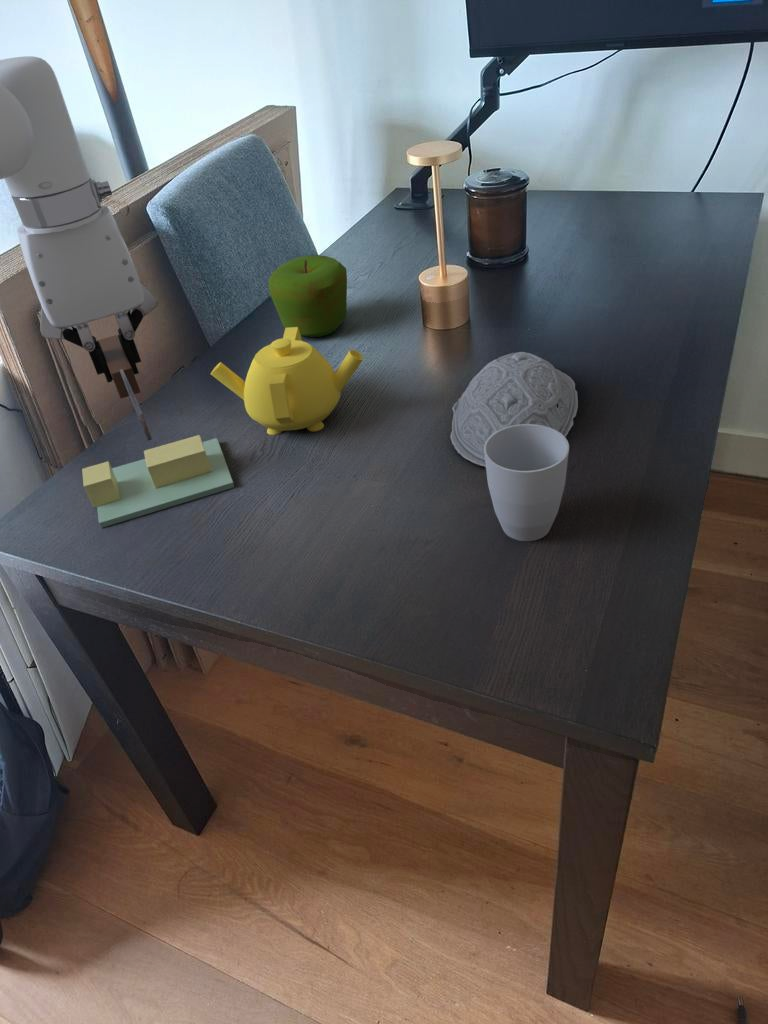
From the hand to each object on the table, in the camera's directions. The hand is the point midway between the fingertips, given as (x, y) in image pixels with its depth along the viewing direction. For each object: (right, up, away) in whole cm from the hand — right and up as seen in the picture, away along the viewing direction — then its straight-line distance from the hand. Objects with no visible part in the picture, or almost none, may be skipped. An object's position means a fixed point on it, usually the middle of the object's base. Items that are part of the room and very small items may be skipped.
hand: (121, 372), depth 85 cm
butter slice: (-4, -14, +7) cm, 16 cm away
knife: (+2, -3, -3) cm, 5 cm away
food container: (+46, -3, +11) cm, 48 cm away
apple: (+19, +14, +38) cm, 44 cm away
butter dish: (+2, -12, +9) cm, 15 cm away
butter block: (+4, -11, +9) cm, 14 cm away
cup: (+44, -17, -5) cm, 48 cm away
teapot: (+18, -3, +17) cm, 25 cm away
